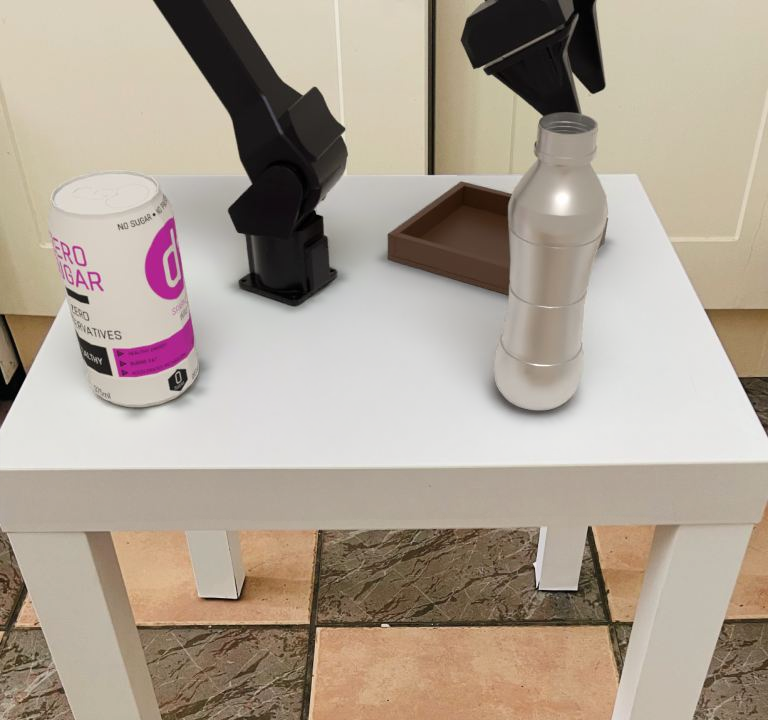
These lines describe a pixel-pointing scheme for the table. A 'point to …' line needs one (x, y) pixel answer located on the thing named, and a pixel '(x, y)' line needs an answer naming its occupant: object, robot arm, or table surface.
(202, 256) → the table surface
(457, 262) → the tray
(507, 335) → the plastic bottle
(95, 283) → the white soda can
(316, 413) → the table surface
